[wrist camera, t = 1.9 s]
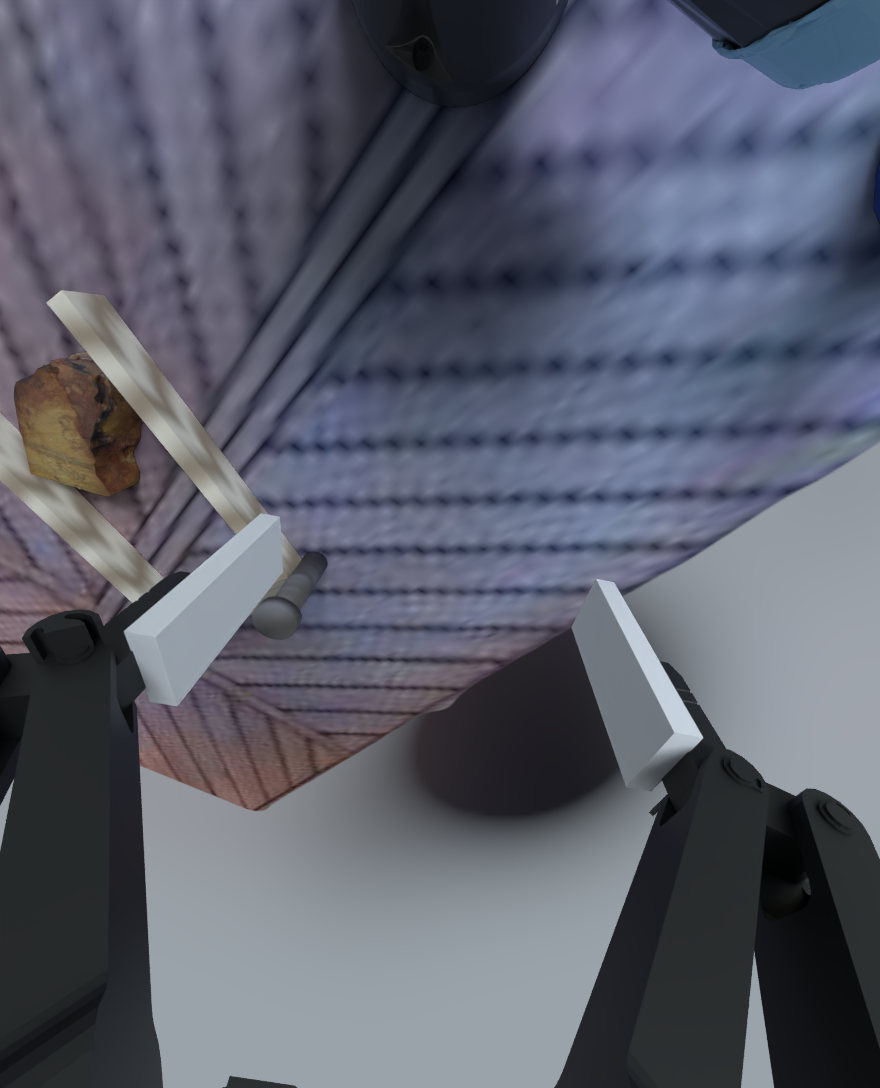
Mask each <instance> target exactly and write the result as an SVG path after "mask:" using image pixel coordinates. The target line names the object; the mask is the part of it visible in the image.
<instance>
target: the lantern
mask: <svg viewBox="0 0 880 1088" xmlns="http://www.w3.org/2000/svg"><path fill="white" fill-rule="evenodd" d="M874 211H875V213H876V216H877V218H878V221H879V223H880V161H879V164H878V168H877V171H876V176H875V195H874Z"/></svg>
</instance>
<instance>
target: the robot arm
mask: <svg viewBox="0 0 880 1088" xmlns="http://www.w3.org/2000/svg"><path fill="white" fill-rule="evenodd" d="M667 1H669V2H670V3H671V4H672V5H673V6H675V7H676V8H677V9H678V10H680V11H681V12H682V13H683V14H684V15H686V16H687V17H688V18H689V19H690V20H692V21H693V22H694V23H695V24H697V25H698V26H699V27H700V28H701V29H703V30H704V31H705V32H706V33H707V34H709V35H710V36H711V37H712V38H713V40H712V46H713V48H714V49H715V50H716V51H717V52H718V53H719V54H720V55H721V56H724V57H726V58H728V59H743V60H744V61H746V62H747V63H749V64H750V65H752V66H753V67H754V68H756V69H757V70H759V71H760V72H762V73H763V74H765V75H766V76H767V77H769V78H770V79H772V80H773V81H775V82H776V83H777V84H779V85H781V86H783V87H788V88H793V89H805V88H808V87H811V86H814V85H820V84H822V83H832V82H834V81H837V80H840V79H842V78H845V77H847V76H849V75H851V74H853V73H855V72H857V71H859V70H861V69H863V68H865V67H866V66H868V65H870V64H872V63H874V62H876V61H877V60H879V59H880V0H667ZM352 2H353V4H354V7H355V10H356V13H357V16H358V18H359V21H360V23H361V26H362V28H363V30H364V32H365V35H366V37H367V39H368V41H369V42H370V44H371V46H372V48H373V50H374V51H375V53H376V55H377V56H378V58H379V59H380V61H381V62H382V63H383V65H384V66H385V67H386V69H387V70H388V71H389V72H390V73H391V75H392V76H393V77H394V78H395V79H396V80H397V81H398V82H399V83H400V84H402V85H403V86H404V87H405V88H406V89H408V90H409V91H410V92H412V93H413V94H415V95H416V96H418V97H420V98H422V99H424V100H426V101H429V102H431V103H434V104H438V105H442V106H449V107H462V106H470V105H474V104H478V103H481V102H484V101H486V100H488V99H491V98H492V97H494V96H496V95H498V94H499V93H501V92H503V91H504V90H506V89H507V88H508V87H509V86H511V85H512V84H513V83H514V82H515V81H517V80H518V79H519V78H520V77H521V76H522V75H523V74H524V73H525V72H526V71H527V70H528V68H529V67H530V66H531V65H532V64H533V62H534V61H535V60H536V59H537V57H538V56H539V55H540V53H541V52H542V50H543V49H544V47H545V46H546V44H547V43H548V41H549V39H550V37H551V36H552V34H553V32H554V30H555V28H556V26H557V24H558V23H559V21H560V18H561V16H562V14H563V12H564V9H565V7H566V5H567V2H568V0H352ZM282 573H283V564H282V545H281V526H280V517H277V516H272V515H267V514H262V513H261V514H260V515H258V516H257V517H256V518H255V519H254V520H253V521H252V522H250V523H249V524H248V525H247V526H246V527H245V528H243V529H242V530H241V531H240V532H239V533H238V534H236V535H235V536H234V537H233V538H232V539H231V540H229V541H228V542H227V543H226V544H225V545H224V546H222V547H221V548H220V549H219V550H218V551H217V552H215V553H214V554H213V555H212V556H211V557H210V558H208V559H207V560H206V561H205V562H204V563H203V564H201V565H200V566H199V567H198V568H197V569H196V570H194V571H193V572H192V573H187V572H181V571H180V572H177V573H175V574H173V575H171V576H169V577H166V578H164V579H162V580H161V581H160V582H158V583H157V584H156V585H155V586H153V587H152V588H151V589H150V590H149V592H146V593H145V594H143V595H142V596H141V597H140V598H138V601H135V602H133V603H132V604H131V605H130V606H128V607H127V608H126V609H125V610H123V611H122V612H121V613H120V614H118V615H117V616H116V617H115V618H113V619H112V620H111V621H110V622H108V623H107V624H106V625H104V626H103V623H102V621H101V619H100V616H99V614H97V613H95V612H93V611H89V610H72V611H65V612H62V613H58V614H55V615H51V616H49V617H47V618H45V619H43V620H41V621H39V622H37V623H36V624H34V625H33V626H32V627H30V628H29V629H28V630H27V631H26V632H25V634H24V636H23V637H22V639H23V641H24V643H25V645H26V646H27V648H28V650H29V651H30V653H22V654H8V655H6V654H5V653H4V651H3V650H2V648H1V647H0V805H1V803H2V801H3V799H4V797H5V795H6V793H7V791H8V789H9V787H10V785H11V783H12V781H13V779H14V783H13V788H12V793H11V799H10V804H9V809H8V814H7V819H6V824H5V829H4V835H3V841H2V845H1V850H0V1088H163V1081H162V1068H161V1057H160V1050H159V1044H158V1039H157V1035H156V1031H155V1027H154V1022H153V1017H152V1004H151V984H150V964H149V944H148V924H147V904H146V884H145V863H144V845H143V844H144V843H143V825H142V804H141V785H140V784H141V783H140V763H139V743H138V723H137V707H136V704H135V702H134V700H135V699H136V698H137V697H138V696H139V695H140V693H141V692H142V691H143V690H144V689H145V690H146V692H147V695H148V698H149V700H150V702H155V703H161V704H166V705H172V706H178V705H179V704H180V702H181V701H182V700H183V698H184V697H185V696H186V695H187V693H188V692H189V691H190V690H191V688H192V687H193V686H194V684H195V683H196V682H197V681H198V679H199V678H200V677H201V676H202V674H203V673H204V672H205V670H206V669H207V668H208V667H209V665H210V664H211V663H212V662H213V660H214V659H215V658H216V656H217V655H218V654H219V653H220V651H221V650H222V649H223V648H224V646H225V645H226V644H227V642H228V641H229V640H230V639H231V637H232V636H233V635H234V634H235V632H236V631H237V630H238V628H239V627H240V626H241V625H242V623H243V622H244V621H245V620H246V618H247V617H248V616H249V614H250V613H251V612H252V611H253V609H254V608H255V607H256V606H257V604H258V603H259V602H260V601H261V599H262V598H263V597H264V595H265V594H266V593H267V592H268V590H269V589H270V588H271V587H272V585H273V584H274V583H275V581H276V580H277V579H278V578H279V576H280V575H281V574H282ZM572 630H573V633H574V636H575V639H576V642H577V645H578V648H579V650H580V653H581V656H582V659H583V662H584V665H585V668H586V671H587V674H588V677H589V680H590V683H591V685H592V688H593V691H594V694H595V697H596V700H597V703H598V706H599V709H600V712H601V715H602V717H603V720H604V723H605V726H606V729H607V732H608V735H609V738H610V741H611V743H612V747H613V749H614V752H615V755H616V758H617V761H618V764H619V767H620V770H621V773H622V775H623V778H624V781H625V784H626V787H631V788H637V789H643V790H648V791H652V790H653V789H654V788H655V787H656V786H657V785H658V784H659V783H660V782H661V781H663V784H664V786H665V788H666V791H667V793H668V794H667V795H666V796H665V797H664V798H663V799H662V800H661V801H660V802H659V803H658V804H657V805H656V806H655V807H654V808H653V809H652V810H651V811H650V812H649V813H650V814H651V815H655V814H656V813H657V812H658V813H657V816H656V818H655V821H654V824H653V826H652V829H651V832H650V835H649V837H648V840H647V843H646V846H645V848H644V851H643V854H642V856H641V859H640V862H639V865H638V867H637V870H636V873H635V875H634V878H633V881H632V884H631V887H630V889H629V892H628V895H627V897H626V900H625V903H624V906H623V908H622V911H621V914H620V916H619V919H618V922H617V925H616V927H615V930H614V933H613V936H612V938H611V941H610V944H609V946H608V949H607V952H606V955H605V957H604V960H603V963H602V966H601V968H600V971H599V974H598V977H597V979H596V982H595V985H594V988H593V990H592V993H591V996H590V999H589V1001H588V1004H587V1007H586V1009H585V1012H584V1015H583V1017H582V1020H581V1023H580V1026H579V1029H578V1031H577V1034H576V1037H575V1039H574V1042H573V1045H572V1048H571V1051H570V1053H569V1056H568V1058H567V1061H566V1064H565V1067H564V1069H563V1072H562V1074H561V1076H560V1079H559V1080H558V1082H557V1084H556V1086H555V1087H554V1088H741V1079H742V1070H743V1059H744V1049H745V1039H746V1028H747V1017H748V1008H749V996H750V987H751V976H752V966H753V956H754V952H755V958H756V965H757V971H758V979H759V985H760V993H761V1000H762V1006H763V1014H764V1020H765V1027H766V1033H767V1041H768V1048H769V1054H770V1062H771V1068H772V1075H773V1082H774V1088H880V859H879V857H878V854H877V852H876V850H875V847H874V845H873V843H872V840H871V838H870V836H869V835H868V833H867V831H866V830H865V828H864V826H863V825H862V823H861V822H860V821H859V820H858V819H857V818H856V817H855V816H854V815H853V813H852V812H851V811H849V810H848V809H847V808H846V807H845V806H844V805H842V804H841V803H840V802H839V801H837V800H835V799H834V798H832V797H831V796H829V795H828V794H826V793H824V792H821V791H819V790H816V789H805V790H804V791H802V792H801V793H800V794H798V795H797V796H794V795H792V794H790V793H788V792H785V791H783V790H781V789H779V788H777V787H775V786H773V785H770V784H768V783H766V782H765V781H764V779H763V777H762V776H761V774H760V773H759V772H758V771H757V770H756V769H755V768H754V766H753V765H751V764H750V763H749V762H748V761H747V760H745V759H744V758H743V757H742V756H740V755H738V754H736V753H735V752H733V751H731V750H727V749H726V748H725V746H724V744H723V743H722V741H721V740H720V738H719V736H718V735H717V733H716V731H715V730H714V728H713V727H712V725H711V723H710V722H709V720H708V718H707V717H706V715H705V714H704V712H703V710H702V709H701V707H700V705H697V701H696V699H695V697H694V696H693V694H692V693H690V689H689V688H688V686H687V684H686V683H685V681H684V679H683V678H682V676H681V675H680V674H679V673H678V672H677V671H676V670H675V669H674V668H673V667H672V666H671V665H670V664H669V663H665V662H661V661H659V660H658V658H657V656H656V655H655V653H654V651H653V650H652V648H651V646H650V644H649V643H648V641H647V639H646V637H645V636H644V634H643V632H642V630H641V629H640V627H639V625H638V623H637V622H636V620H635V618H634V617H633V615H632V613H631V611H630V610H629V608H628V606H627V604H626V603H625V601H624V599H623V597H622V596H621V594H620V592H619V590H618V589H617V587H616V585H615V583H614V582H609V581H604V580H599V579H596V580H595V582H594V584H593V586H592V588H591V590H590V592H589V594H588V596H587V598H586V600H585V601H584V603H583V605H582V607H581V609H580V611H579V613H578V615H577V617H576V619H575V621H574V623H573V625H572ZM223 1088H297V1087H296V1086H293V1085H287V1084H280V1083H273V1082H267V1081H260V1080H253V1079H246V1078H240V1077H232V1076H230V1077H229V1080H228V1084H227V1087H223Z"/></svg>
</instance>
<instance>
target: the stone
mask: <svg viewBox="0 0 880 1088" xmlns="http://www.w3.org/2000/svg"><path fill="white" fill-rule="evenodd" d="M14 401H15V406H16V412H17V418H18V423H19V429H20V434H21V436H22V439H23V443H24V447H25V451H26V455H27V460H28V464H29V469H30V472H31V474H33V475H36V476H39V477H43V478H46V479H50V480H53V481H56V482H59V483H62V484H65V485H69V486H73V487H76V488H78V489H83V490H85V491H88V492H92V493H95V494H99V495H102V496H106V497H108V496H111V495H114V494H116V493H118V492H120V491H122V490H124V489H126V488H128V487H130V486H133V485H135V484H136V483H138V482H139V477H140V472H139V469H138V467H137V465H136V460H135V458H134V455H133V451H134V449H135V445H136V444H137V443H138V442H139V440H140V433H141V423H142V421H143V420H142V419H141V418H140V416H139V415H138V414H137V413H136V412H135V410H134V409H133V408H132V407H131V405H130V404H129V403H128V402H127V401H126V399H125V398H124V397H123V396H122V394H121V393H120V392H119V391H118V390H117V388H116V387H115V386H114V385H113V383H112V382H111V381H110V380H109V379H108V377H107V376H106V375H105V374H104V372H103V371H102V370H101V369H100V368H99V366H98V365H97V364H96V363H95V361H94V360H93V359H92V358H91V357H90V355H89V354H88V353H87V352H80V353H77V354H73V355H71V356H70V358H69V359H56V360H52V361H51V362H50V364H48V365H43V366H42V367H40V368H38V369H37V370H36V372H35V374H33V375H30V376H28V377H26V378H24V379H21V380H19V381H17V382H16V384H15V387H14Z"/></svg>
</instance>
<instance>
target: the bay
mask: <svg viewBox="0 0 880 1088" xmlns="http://www.w3.org/2000/svg"><path fill="white" fill-rule="evenodd" d="M47 304H48V305H49V306H50V308H51V309H52V310H53V311H54V313H55V314H56V315H57V316H58V317H59V319H60V320H61V321H62V322H63V324H64V325H65V326H66V327H67V328H68V330H69V331H70V332H71V333H72V335H73V336H74V337H75V338H76V339H77V341H78V342H79V343H80V344H81V346H82V347H83V348H84V349H85V350H86V352H87V353H88V354H89V355H90V357H91V358H92V359H93V360H94V361H95V363H96V364H97V365H98V366H99V368H100V369H101V370H102V371H103V372H104V374H105V375H106V376H107V377H108V379H109V380H110V381H111V382H112V383H113V385H114V386H115V387H116V388H117V390H118V391H119V392H120V393H121V394H122V396H123V397H124V398H125V399H126V401H127V402H128V403H129V404H130V405H131V407H132V408H133V409H134V410H135V412H136V413H137V414H138V415H139V416H140V418H141V419H142V420H143V421H144V423H145V424H146V425H147V426H148V427H149V429H150V430H151V431H152V432H153V434H154V435H155V436H156V437H157V438H158V440H159V441H160V442H161V443H162V445H163V446H164V447H165V448H166V449H167V451H168V452H169V453H170V454H171V456H172V457H173V458H174V459H175V460H176V462H177V463H178V464H179V465H180V467H181V468H182V469H183V470H184V471H185V473H186V474H187V475H188V476H189V478H190V479H191V480H192V481H193V482H194V484H195V485H196V486H197V487H198V489H199V490H200V491H201V492H202V493H203V495H204V496H205V497H206V498H207V500H208V501H209V502H210V503H211V504H212V506H213V507H214V508H215V509H216V511H217V512H218V513H219V514H220V515H221V517H222V518H223V519H224V520H225V522H226V523H227V524H228V525H229V526H230V528H231V529H232V530H233V531H234V533H235V534H238V533H239V532H240V531H241V530H242V529H243V528H245V527H246V526H247V525H248V524H249V523H250V522H252V521H253V520H254V519H255V518H256V517H257V516H258V515H260V514H261V513H262V514H267V515H268V513H267V512H266V511H265V509H264V508H263V507H262V505H261V504H260V503H259V501H258V500H257V499H256V497H255V496H254V495H253V493H252V492H251V491H250V489H249V488H248V487H247V485H246V484H245V483H244V481H243V480H242V479H241V477H240V476H239V475H238V473H237V472H236V471H235V469H234V468H233V467H232V465H231V464H230V463H229V461H228V460H227V459H226V457H225V456H224V455H223V453H222V452H221V451H220V449H219V448H218V447H217V445H216V444H215V443H214V441H213V440H212V439H211V437H210V436H209V435H208V433H207V432H206V431H205V429H204V428H203V427H202V425H201V424H200V423H199V421H198V420H197V419H196V417H195V416H194V415H193V413H192V412H191V410H190V409H189V408H188V406H187V405H186V404H185V402H184V401H183V400H182V398H181V397H180V396H179V394H178V393H177V392H176V390H175V389H174V388H173V386H172V385H171V384H170V382H169V381H168V380H167V378H166V377H165V376H164V374H163V373H162V372H161V370H160V369H159V368H158V366H157V365H156V364H155V362H154V361H153V360H152V358H151V357H150V356H149V354H148V353H147V352H146V350H145V349H144V348H143V346H142V345H141V344H140V342H139V341H138V340H137V338H136V337H135V336H134V334H133V333H132V332H131V330H130V329H129V328H128V326H127V325H126V324H125V322H124V321H123V320H122V318H121V317H120V316H119V314H118V313H117V312H116V310H115V309H114V308H113V306H112V305H111V304H110V302H109V301H108V300H107V298H106V297H105V296H104V295H98V294H89V293H81V292H72V291H64V290H61V291H60V292H59V293H58V294H56V295H55V296H54V297H53V298H52V299H50V300H49V301H48V302H47ZM0 480H1V481H2V482H3V483H4V484H5V485H6V486H7V487H8V488H9V489H10V490H11V491H12V492H13V493H15V494H16V495H17V496H18V497H19V498H20V499H21V500H22V501H23V502H24V503H25V504H26V505H28V506H29V507H30V508H31V509H32V510H33V511H34V512H35V513H36V514H37V515H38V516H39V517H40V518H42V519H43V520H44V521H45V522H46V523H47V524H48V525H49V526H50V527H51V528H52V529H53V530H54V531H56V532H57V533H58V534H59V535H60V536H61V537H62V538H63V539H64V540H65V541H66V542H67V543H68V544H70V545H71V546H72V547H73V548H74V549H75V550H76V551H77V552H78V553H79V554H80V555H81V556H82V557H84V558H85V559H86V560H87V561H88V562H89V563H90V564H91V565H92V566H93V567H94V568H95V569H96V570H98V571H99V572H100V573H101V574H102V575H103V576H104V577H105V578H106V579H107V580H108V581H109V582H110V583H112V584H113V585H114V586H115V587H116V588H117V589H118V590H119V591H120V592H121V593H122V594H123V595H124V596H126V597H127V598H128V599H129V600H130V601H131V602H132V603H133V602H135V601H138V598H140V597H141V596H142V595H143V594H145V593H146V592H149V590H150V589H151V588H152V587H153V586H155V585H156V584H157V583H158V582H160V581H161V580H162V579H164V578H163V577H162V576H161V575H160V574H159V573H158V572H157V571H156V570H155V569H154V568H153V567H152V566H151V565H150V564H149V563H148V562H147V561H146V560H145V559H144V558H143V557H142V556H141V555H140V553H139V552H138V551H137V550H136V549H135V548H134V547H133V546H132V545H131V544H130V543H129V542H128V541H127V540H126V539H125V538H124V537H123V536H122V535H121V534H120V533H119V532H118V531H117V530H116V529H115V528H114V527H113V526H112V525H111V524H110V523H109V522H108V521H107V520H106V519H105V518H104V517H103V516H102V515H101V514H100V513H99V512H98V511H97V510H96V509H95V508H94V507H93V506H92V505H91V504H90V503H89V502H88V501H87V500H86V499H85V498H84V497H83V496H82V495H81V494H80V493H79V492H78V491H77V490H76V489H75V488H74V487H73V486H69V485H65V484H62V483H59V482H56V481H53V480H50V479H46V478H43V477H39V476H36V475H33V474H31V472H30V469H29V464H28V460H27V455H26V451H25V447H24V443H23V439H22V436H21V434H20V432H19V431H18V430H17V429H16V428H15V427H14V426H13V425H12V424H11V423H10V422H9V421H8V420H7V419H6V418H5V417H4V416H3V415H2V414H1V413H0ZM281 545H282V564H283V573H282V574H281V575H280V576H279V578H278V579H277V580H276V581H275V583H274V584H273V585H272V587H271V588H270V589H269V590H268V592H267V593H266V594H265V595H264V597H263V598H262V599H261V601H260V602H259V603H258V604H257V606H256V607H255V608H254V609H253V611H252V612H251V613H250V614H249V616H250V615H252V623H253V625H254V627H255V628H256V629H257V630H258V631H259V632H260V633H261V634H263V635H264V636H266V637H269V638H272V639H276V640H283V639H287V638H289V637H291V636H292V635H293V634H294V632H295V630H296V629H297V627H298V625H299V624H300V622H301V619H302V615H301V612H300V609H301V608H302V606H303V604H304V603H305V601H306V599H307V598H308V596H309V595H310V593H311V591H312V590H313V588H314V587H315V585H316V583H317V582H318V580H319V578H320V577H321V575H322V574H323V572H324V570H325V569H326V567H327V560H326V558H325V557H324V556H323V555H322V554H321V553H318V552H309V553H307V554H306V555H305V557H304V558H303V559H301V557H300V556H299V555H298V553H297V552H296V551H295V549H294V548H293V547H292V545H291V544H290V543H289V541H288V540H287V539H286V537H285V536H284V535H283V533H282V532H281Z"/></svg>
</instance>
